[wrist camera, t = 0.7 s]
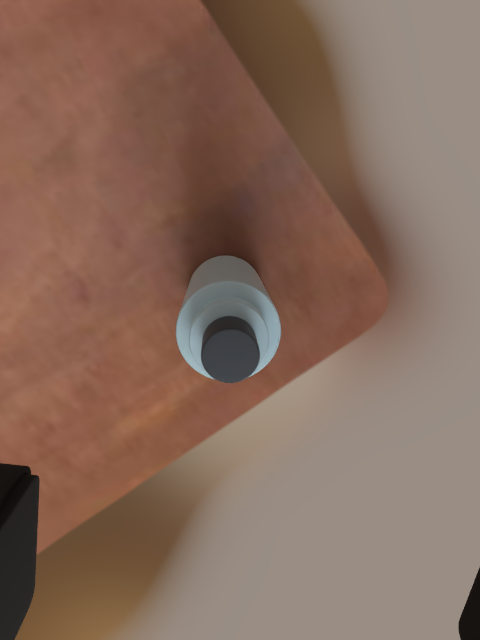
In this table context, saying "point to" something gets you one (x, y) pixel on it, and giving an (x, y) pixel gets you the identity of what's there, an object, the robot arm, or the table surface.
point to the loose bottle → (227, 321)
